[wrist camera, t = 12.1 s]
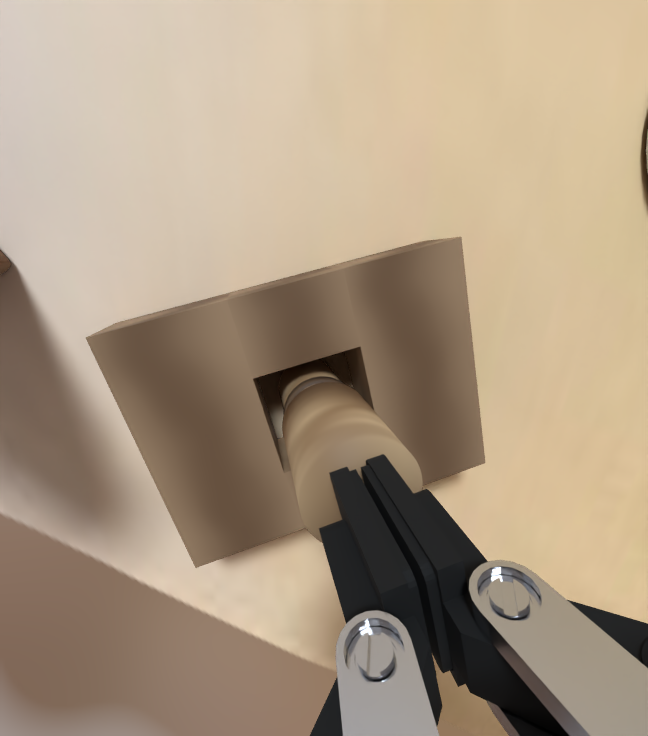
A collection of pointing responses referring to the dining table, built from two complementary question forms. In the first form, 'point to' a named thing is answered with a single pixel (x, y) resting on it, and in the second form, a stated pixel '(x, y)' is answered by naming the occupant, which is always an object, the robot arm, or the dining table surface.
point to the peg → (332, 439)
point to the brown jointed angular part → (4, 263)
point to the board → (281, 351)
